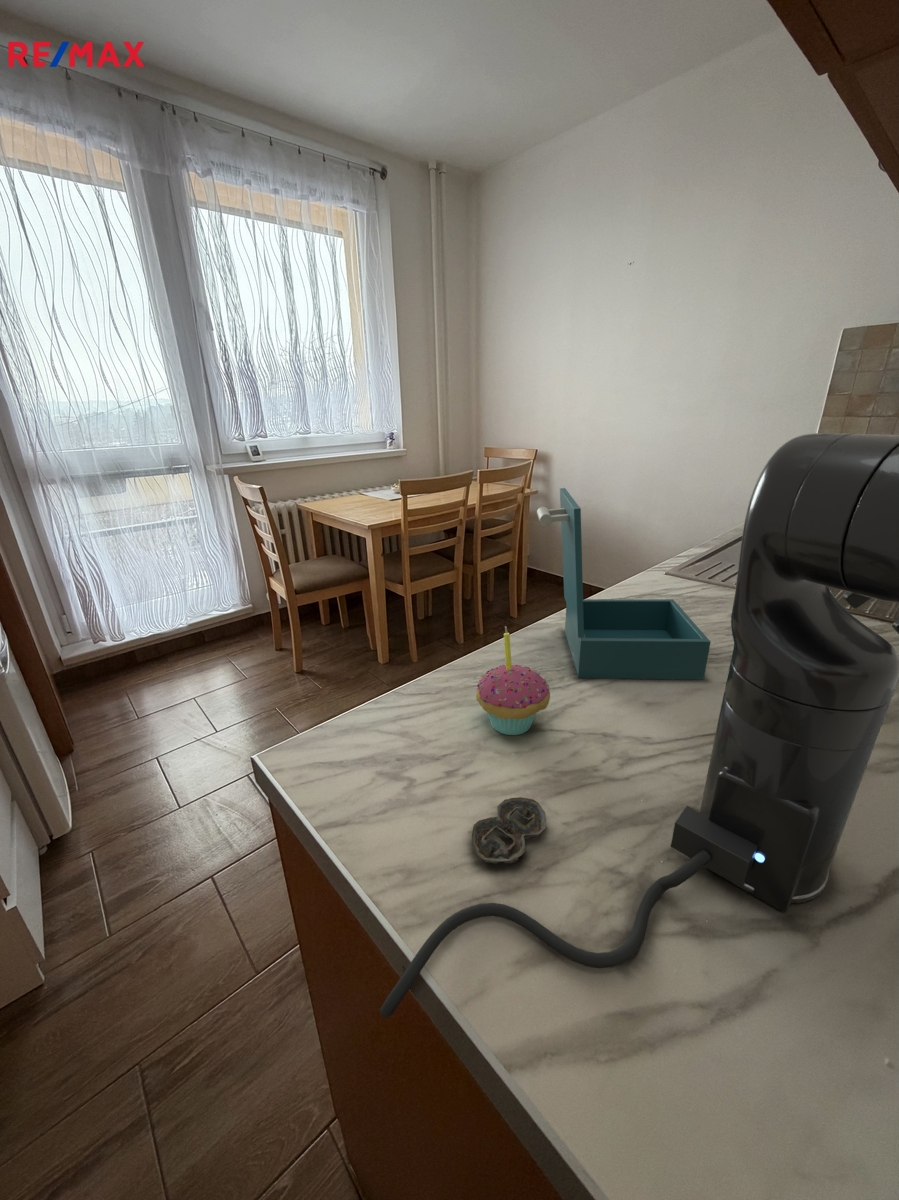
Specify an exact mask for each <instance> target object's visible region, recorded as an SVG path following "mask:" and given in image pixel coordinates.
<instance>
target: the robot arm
mask: <svg viewBox="0 0 899 1200" xmlns="http://www.w3.org/2000/svg"><path fill="white" fill-rule="evenodd" d="M743 523H744V524H743V529H742V536H741V541H740V542H741V543H740V552H739V558H738V559H739V560H738V567H737V576H736V583H735V591H734V596H733V602H732V608H731V609H732V610H731V616H730V627H731V628H730V629H731V634H732V640H733V649H732V655H731V659H730V664H729V667H728V673H727V678H726V681H725V682H726V683H725V688H724V691H723V695H722V701H721V705H720V711H719V715H718V720H717V726H716V730H715V735H714V739H713V745H712V749H711V754H710V759H709V764H708V768H707V773H706V778H705V783H704V788H703V793H702V798H701V805H700V808H699V810H697V809H694V808H693V807H690V806H689V805H686V806H685V807H684V809H683V810H682V812H681V813H680V814H679V816H678V818H677V819H676V820H675V822H674V826H673V832H672V837H671V843H670V847H671V848H672V849H674V850H676V851H677V852H678V853H681V854H682V855H684V856H686V857H687V858H689V860H688V861H686V862H685V863H684V864H682V865H681V866H680V867H678V868H677V869H675V870H674V871H673V872H671V873H669V874H667V875H664V876H661V877H659V878H658V879H657V880H656V881H654V882H653V883H652V885H651V886H649V888H648V889H647V891H646V892H645V893H644V895H643V897H642V899H641V901H640V903H639V906H638V908H637V911H636V915H635V917H634V921H633V925H632V929H631V931H630V934H629V936H628V938H627V940H626V941H625V942H624V943H623V945H621V946H620V947H618V948H617V949H613V950H610V951H605V952H604V951H603V952H594V951H588V950H584V949H582V948H579V947H577V946H575V945H573V944H571V943H570V942H567V941H565V939H564V938H563V939H562V938H561V937H560V936H559V935H557V934H555V933H554V932H552V930H549V929H548V928H547V927H546V926H544V925H542V923H540V922H539V921H537V920H535V919H534V918H532V917H531V916H530V915H528V914H526V913H525V912H523V911H521V910H519V909H517V908H515V907H513V906H510V905H507V904H505V903H499V902H486V903H485V902H484V903H478V904H475V905H474V904H473V905H470V906H467V907H465V908H462V909H461V910H458V911H456V912H454V913H453V914H451V915H450V916H449V917H447V918H446V919H445V920H444V921H442V923H441V924H439V925H438V926H437V928H435V929H434V931H432V932H431V934H430V935H429V936H428V938H427V939H426V940H425V942H424V943H423V944H422V945H421V947H420V949H419V950H418V952H416V954H415V956H414V957H413V958H412V960H411V961H410V963H409V964H408V966H407V968H406V969H405V970H404V972H403V974H402V975H401V977H400V978H399V980H398V981H397V983H396V984H395V985H394V986H393V988H392V990H391V991H390V992H389V994H388V995H387V997H386V999H385V1001H384V1002H383V1004H382V1005H381V1007H380V1009H379V1012H380V1013H379V1014H380V1015H381V1016H382V1017H383V1018H389V1017H390V1016H392V1015H393V1014H394V1013H395V1011H396V1010H397V1008H398V1007H399V1005H400V1004H401V1002H402V1001H403V1000H404V998H405V996H406V995H407V993H408V992H409V990H410V989H411V987H412V986H413V984H414V983H415V982H416V980H417V978H418V977H419V975H420V973H421V972H422V970H424V969H423V968H424V967H425V966H426V964H427V963H428V961H429V960H430V958H431V957H432V956H433V954H434V953H435V951H436V950H437V948H438V947H439V945H441V943H442V942H443V941H444V940H445V939H446V938H447V937H448V936H449V935H450V934H451V933H452V932H453V931H455V930H456V929H457V928H459V927H461V926H462V925H464V924H466V923H468V922H471V921H473V920H476V919H480V918H486V917H487V918H488V917H497V918H503V919H505V920H508V921H511V922H512V923H514V924H516V925H518V926H520V927H522V928H523V929H524V930H526V931H527V932H529V933H530V934H532V935H533V936H534V937H536V938H537V939H538V940H540V941H541V942H543V943H544V944H545V945H547V946H548V947H549V948H551V949H552V950H554V951H555V952H557V953H558V954H559V955H561V956H563V957H565V958H566V959H568V960H570V961H572V962H574V963H576V964H579V965H582V966H584V967H588V968H593V969H606V968H608V969H610V968H615V967H617V966H621V965H624V964H625V963H626V962H627V961H629V960H631V959H632V958H633V957H634V956H635V955H636V954H637V953H638V951H639V950H640V947H641V946H642V944H643V941H644V939H645V935H646V930H647V927H648V922H649V918H650V915H651V912H652V909H653V908H654V907H655V904H656V903H657V901H658V900H659V898H660V897H661V896H662V895H663V894H664V893H665V892H666V891H667V890H669V889H673V888H674V889H675V888H676V887H679V886H680V885H682V884H683V883H686V881H687V880H689V879H690V878H691V877H693V876H694V875H696V874H697V873H698V872H699V871H700V870H702V869H703V868H706V869H708V870H709V871H711V872H712V873H715V874H716V875H718V876H720V877H722V878H723V879H725V880H727V881H728V882H730V883H732V884H733V885H735V886H736V887H738V888H740V889H742V890H743V891H745V892H747V893H748V894H751V895H753V896H754V897H756V898H757V899H759V900H761V901H763V902H764V903H766V904H768V905H770V906H772V907H773V908H775V909H776V910H778V911H780V912H782V913H786V912H787V911H788V909H789V907H790V905H791V904H803V903H806V902H810V901H812V900H814V899H816V898H817V897H819V896H820V895H821V894H822V893H823V891H824V890H825V888H826V885H827V883H828V880H829V876H830V875H829V873H830V869H831V866H832V864H833V861H834V858H835V856H836V853H837V851H838V846H839V844H840V841H841V838H842V836H843V833H844V830H845V827H846V825H847V821H848V819H849V816H850V813H851V811H852V808H853V805H854V803H855V801H856V798H857V794H858V791H859V788H860V785H861V783H862V780H863V777H864V775H865V772H866V769H867V766H868V763H869V761H870V759H871V755H872V754H873V753H872V752H873V750H874V748H875V744H876V742H877V739H878V737H879V735H880V732H881V729H882V726H883V724H884V721H885V718H886V715H887V712H888V710H889V707H890V704H891V701H892V698H893V696H894V693H895V691H896V688H897V685H898V682H899V654H898V652H897V651H896V649H895V648H894V647H893V646H892V644H891V643H890V642H889V641H888V640H886V639H885V638H884V637H883V636H882V635H880V634H878V633H877V632H876V631H874V630H872V629H871V628H870V627H868V626H867V625H866V624H864V623H863V622H862V621H860V620H859V619H858V618H856V617H855V616H853V614H851V612H849V611H848V610H847V609H846V608H845V607H844V606H843V605H842V604H841V603H840V602H839V600H838V599H837V598H836V597H835V595H834V594H833V592H832V591H831V588H833V589H836V590H840V591H843V592H845V593H844V594H843V596H842V599H843V600H844V601H845V603H847V604H848V605H849V607H852V608H853V609H857V608H859V607H861V606H862V605H864V604H865V603H867V602H868V601H869V600H871V599H874V600H879V601H884V602H888V603H894V604H899V434H879V433H878V434H877V433H874V434H873V433H843V432H841V433H840V432H839V433H838V432H814V433H806V434H801V435H798V436H795V437H793V438H791V439H789V440H787V441H786V442H785V443H783V444H781V446H779V447H778V448H777V449H776V450H775V451H774V453H773V454H771V456H770V457H769V458H768V460H767V461H766V463H765V465H764V466H763V468H762V469H761V472H760V473H759V474H758V477H757V479H756V482H755V485H754V487H753V489H752V491H751V494H750V498H749V502H748V504H747V509H746V514H745V517H744V522H743ZM891 625H892V628H893V630H894V631H895V632H896V633H897V634H898V635H899V618H898V619H897V620H895V621H893V623H892V624H891Z"/></svg>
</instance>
